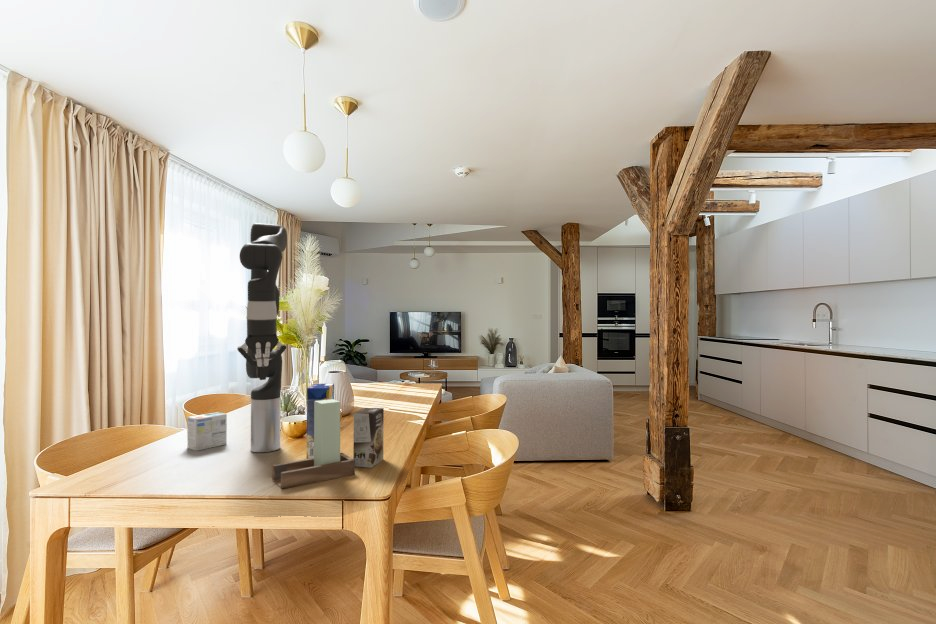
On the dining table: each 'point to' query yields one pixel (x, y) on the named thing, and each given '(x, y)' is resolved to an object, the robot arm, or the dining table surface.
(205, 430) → the light bulb box
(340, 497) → the dining table surface
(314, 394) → the beverage box
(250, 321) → the robot arm
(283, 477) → the chute
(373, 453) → the coffee box
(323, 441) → the block
